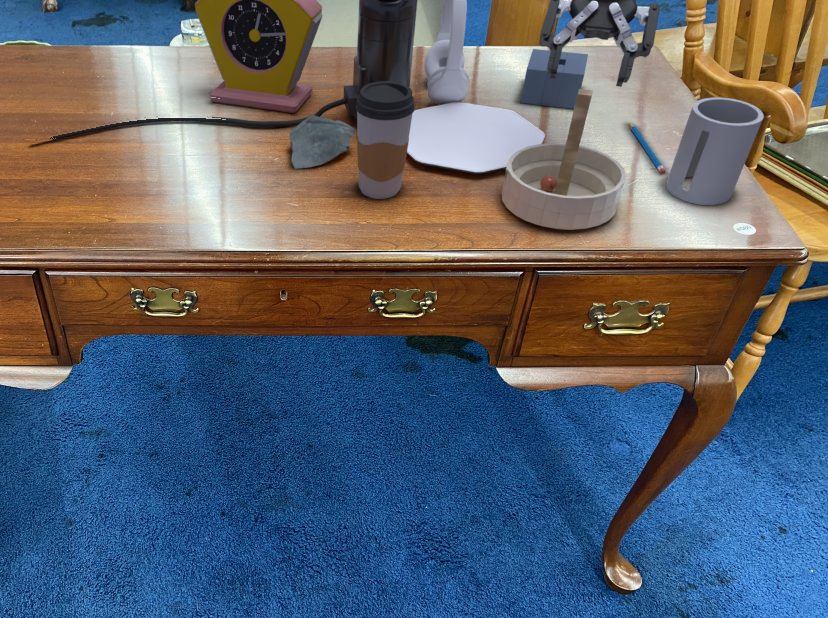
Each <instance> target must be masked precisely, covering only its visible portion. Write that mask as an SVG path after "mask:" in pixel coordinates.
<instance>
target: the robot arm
mask: <svg viewBox="0 0 828 618" xmlns="http://www.w3.org/2000/svg"><path fill="white" fill-rule="evenodd" d="M660 7H661V6H660V4H659V3H657V2H653V3H651V4H650V6H640V5H639V6H638V3H637V0H549V4H548V7H547V10H546V13H545V17H544V21H543V24H542V27H541V30H540V36H539V45H540V46H541V47H546V48H548V49H549V51H551V52H550V57H549V61H548V65H547V74H551V77H550V79H555V78H556V74H557V70H558V66H559V61H560V57H561V53H562V52H563V49H564V48H565V47H566V46H567V45H569V43H572V42H573V41H575V39H577V38H578V37H579V36H580V35H582V37H583V38H584V39H594V38H596V39H599V40H602V41H603V40H604V41H608V40H609V39H613V41H614V42H615V45H616V46H617V48H619V49H620V51H621V53H622V55H623V56H622V59H621V61H620V67H619V72H618V76H617V80H616V84H615V87H621V88H622V86H623V84H624V83H628V81H629V80H630V78H631V75H632V71H633V68H634V67H633V66H634V62H635V60H636V58H639V57H643V58H647V57H648V56H650V54H651V51H652V49H653V47H654V44H655V38H656V32H657V27H658V21H659V15H660ZM417 9H418V0H358V17H357V18H358V21H357V24H358V25H357V42H356V55H355V56H354V57H353V73H352V74H353V75H352V84H351V85H350V84H349V85H343V98H341V99H338V100H334V101H332V102H330V103H327V104H326V105H324V106H322V107H320V109H318V110H317V112H315V113H313V115H315V116H317V117H322V115H324V114H326V112H327V111H330V110H332V109H335V108H338V107H341V106H343V105H344V107H345V109H346V112H347V115H348V116H353V119H354V120H355V123H357V110H356V104H357V97H358V96H359V95H360V90H361V88H362V87H363V86H365V85H367V84H370V83H373V82H379V81H392V82H398V83H402V84H405V85H407V86H408V87H410V88H411V79H412V78H411V76H412V68H413V67H412V66H413V54H414V45H415V43H414V42H415V33H416V22H417V21H416V20H417ZM566 12H569V15H570V17H571V19H570V21H569V22H568V23H567V24H566V25H565V26H564V28H563V29H562V30H560V31H559V32H558V33H557V34H554V33H553V30H554V26H555V23H556V19H560V18H561V17H562V16H563V15H564V13H566ZM635 18H637V19H638V20H639V21H638V22H639V24H640V26H642V27H644V28H643V33H642V39H641V42H638V43H637V41H636V39H635V38H634V36H633V34H632V33H633V32H632V28H631V27H630V25H629V24H630V22H632V21H633V20H634V19H635ZM310 116H311V115H309V116H306V117H303V118H299V119H293V120H292V119H291V120H266V121H265V120H263V121H262V120H249V119H241V118H232V117H224V116H223V117H221V116H211V117H212V118H221V119H206V118H158V119H146V120H137V121H129V122H122V123H116V124H110V125H105V126H100V127H96V128H91V129H86V130H82V131H77V132H72V133H67V134H62V135H58V136H53V138H54V139H55V138H56V139H57V140H63V139H66V138H73V137H76V136H82V135H85V134H90V133H96V132H99V131H104V130H105V131H106V130H111V129H115V128H121V127H127V126H135V125H143V124H154V123H171V122H173V123H174V122H176V123H177V122H186V123H187V122H189V123H191V122H194V123H211V124H212V123H213V124H227V125H237V126H242V127H252V128H287V127H296V126H298V125H299V124H300V123H301V122H302V121H304V120H305V119H307V118H308V117H310ZM222 119H226V120H222ZM51 138H52V137H51ZM51 138H50V139H51ZM53 138H52V139H53ZM54 139H53V141H57V140H56V139H55V140H54Z"/></svg>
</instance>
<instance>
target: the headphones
mask: <svg viewBox="0 0 828 618" xmlns="http://www.w3.org/2000/svg"><path fill="white" fill-rule="evenodd" d="M467 2H468V0H442V4H441V11H440V12H441V14H440V22H439V23H440V24H439V33H438V34H437V36H436V39H435V41H434V43H432V45H431V46H430V48H429V49H428V51H427V52H426V55H425V57H424V66H423V67H424V73H425V75H426V77H427V82H426V83H427V84H426V86H427V96H428V98H429V99H428V100H429V101H431V102H432V103H433V104H435V105H437V106H438V105H443V104H448V103H453V102H463V100H465V99H466V98H467V96H468V94H469V86H470V85H469V84H470V77H469V76H470V75H469V74H468V72H467V71H466V70H465V69H464V67H465V55H464V44H465V38H466V37H465V36H466V25H467V15H468V14H467V13H468V11H467V10H468V3H467Z"/></svg>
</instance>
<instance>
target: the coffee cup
mask: <svg viewBox="0 0 828 618" xmlns="http://www.w3.org/2000/svg"><path fill="white" fill-rule="evenodd" d="M415 101H416V100H415V96H414V95H413V89H412V88H411V86H410V87H408V86H407V85H405V84H402V83H398V82H392V81H379V82H373V83H370V84H367V85H365V86H363V87H362V88H361V90H360V95H359V96H358V97H357V104H356V110H357V122H356V125H357V126H356V127H357V128H356V129H357V136H356V148H357V149H356V151H357V170H358V171H357V173H358V188H359V190H360V192H361V193H362V195H364V196H366V197H368V198H371V199H376V200H377V199H378V200H385V199H390V198H393V197H395V196H396V195H397V194H398V193H399V191H400V190H401V188H402V183H403V182H402V181H403V175H404V171H405V167H406V166H405V165H406V161H407V155H408V154H407V149H408V143H409V133H410V127H411V120H412V114H413V112H414V110H416V106H415Z"/></svg>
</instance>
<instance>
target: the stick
mask: <svg viewBox="0 0 828 618" xmlns="http://www.w3.org/2000/svg"><path fill="white" fill-rule="evenodd" d="M593 91H594V90H592V89H585V88H581V89H579V90H578V95H577V99H576V103H575V107H574V109H573V112H572V116H571V121H570V123H569V124H570V125H569V127H568V128H569V129H568V133H567V137H566V142H565V144H566V145H565V149H564V153H563V158H562V162H561V166H560V170H559V174H558V178H557V183H556V187H555V191H554V194H558V195H565V196H567V193H568V189H569V185H570V181H571V177H572V173H573V169H574V165H575V161H576V157H577V153H578V149H579V146H581V141H582V137H583V133H584V130H585V125H586V122H587V117H588V113H589V109H590V106H591V101H592V97H593V93H594V92H593Z"/></svg>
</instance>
